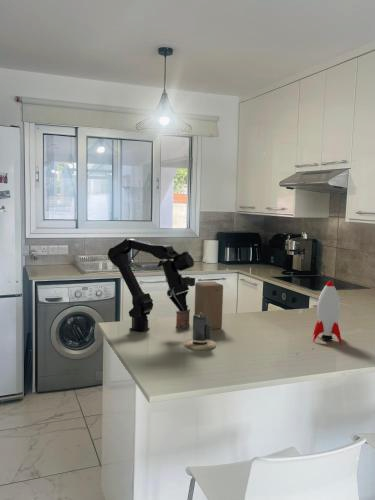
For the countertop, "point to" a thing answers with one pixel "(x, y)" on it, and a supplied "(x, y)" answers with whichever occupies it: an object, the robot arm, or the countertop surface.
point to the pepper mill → (201, 329)
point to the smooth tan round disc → (207, 346)
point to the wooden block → (209, 302)
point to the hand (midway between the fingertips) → (183, 310)
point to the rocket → (328, 313)
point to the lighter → (182, 318)
